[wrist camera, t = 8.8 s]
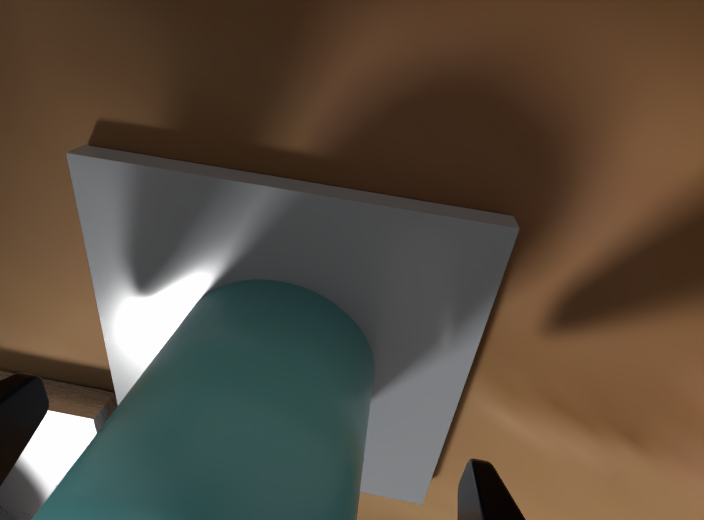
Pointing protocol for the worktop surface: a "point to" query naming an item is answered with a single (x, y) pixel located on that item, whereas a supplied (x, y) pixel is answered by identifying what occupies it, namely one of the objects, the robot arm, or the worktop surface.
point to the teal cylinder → (235, 418)
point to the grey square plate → (53, 445)
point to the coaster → (299, 280)
